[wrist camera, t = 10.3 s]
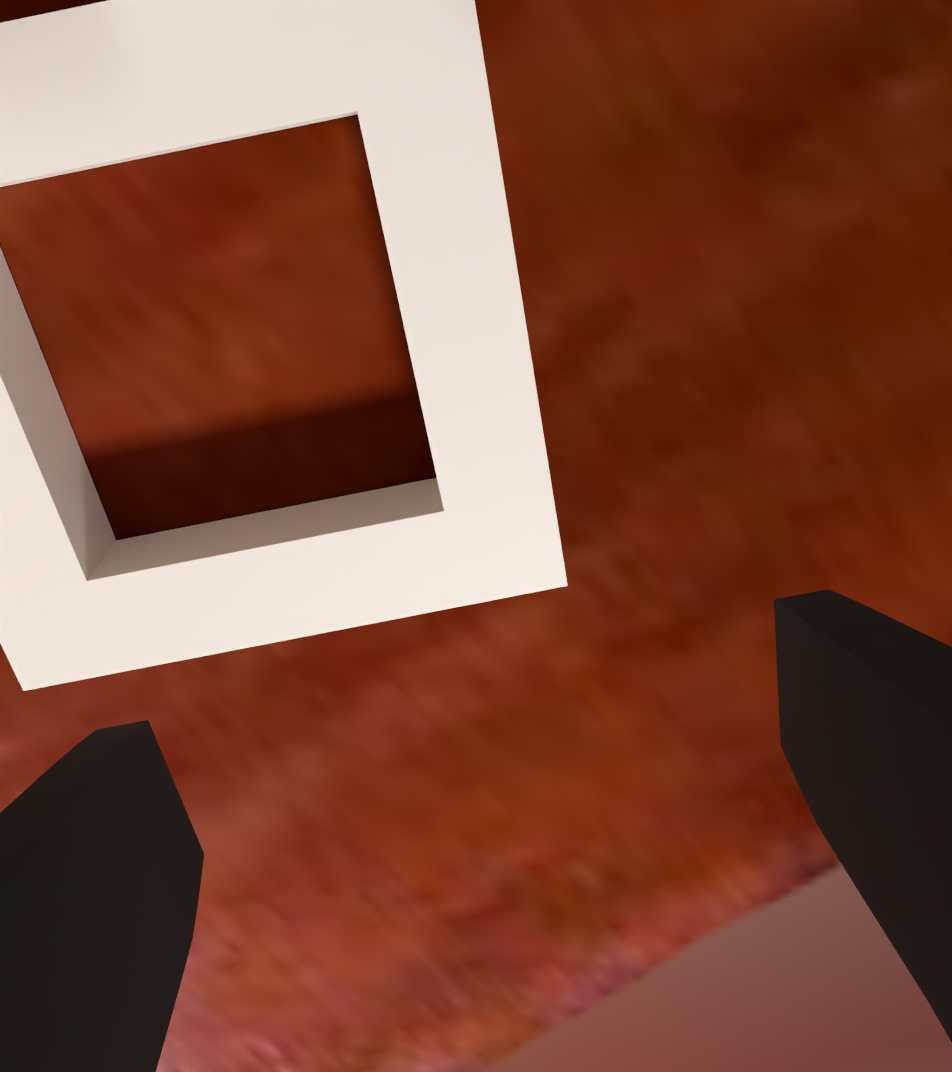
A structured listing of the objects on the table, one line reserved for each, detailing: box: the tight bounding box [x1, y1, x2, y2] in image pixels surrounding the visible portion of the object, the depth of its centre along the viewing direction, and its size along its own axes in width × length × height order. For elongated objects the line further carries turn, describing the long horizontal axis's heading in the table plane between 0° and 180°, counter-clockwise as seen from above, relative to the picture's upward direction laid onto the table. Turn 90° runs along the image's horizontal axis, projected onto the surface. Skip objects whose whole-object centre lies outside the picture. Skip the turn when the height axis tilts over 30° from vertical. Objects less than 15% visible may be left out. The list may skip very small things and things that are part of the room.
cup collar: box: [0, 0, 568, 691], centre depth 18 cm, size 12×12×2 cm
